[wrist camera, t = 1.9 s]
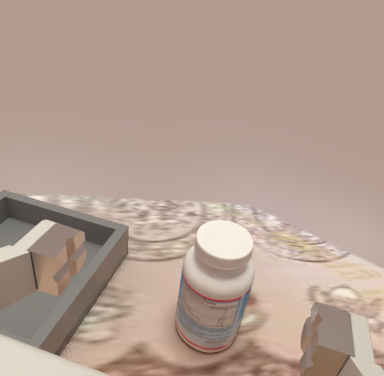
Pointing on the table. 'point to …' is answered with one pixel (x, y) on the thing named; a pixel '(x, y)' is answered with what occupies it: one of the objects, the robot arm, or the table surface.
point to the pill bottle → (215, 286)
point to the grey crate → (79, 284)
